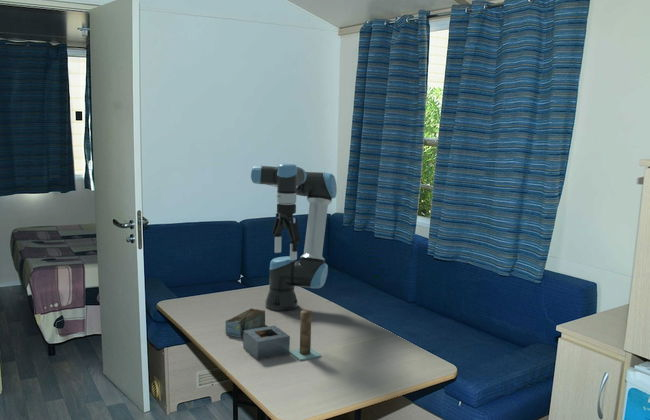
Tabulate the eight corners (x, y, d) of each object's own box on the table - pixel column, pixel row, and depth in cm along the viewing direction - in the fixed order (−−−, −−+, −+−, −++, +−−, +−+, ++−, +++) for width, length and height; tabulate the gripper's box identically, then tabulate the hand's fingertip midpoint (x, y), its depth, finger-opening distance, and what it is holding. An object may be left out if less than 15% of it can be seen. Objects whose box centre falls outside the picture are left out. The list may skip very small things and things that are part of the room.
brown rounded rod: (307, 350, 226) (308, 309, 224) (312, 353, 223) (313, 312, 220) (297, 352, 224) (298, 310, 222) (302, 355, 221) (303, 313, 218)
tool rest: (309, 348, 230) (309, 347, 229) (321, 356, 222) (321, 355, 222) (288, 352, 225) (288, 350, 225) (300, 361, 217) (300, 359, 217)
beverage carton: (224, 334, 242) (224, 319, 241) (250, 321, 259) (250, 306, 258) (240, 338, 239) (240, 322, 238) (266, 324, 256) (266, 309, 255)
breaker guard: (274, 342, 234) (274, 325, 233) (289, 354, 223) (289, 336, 222) (243, 348, 228) (243, 330, 227) (257, 360, 217) (257, 341, 216)
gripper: (264, 199, 245) (263, 250, 248) (292, 208, 223) (291, 263, 227) (280, 199, 248) (279, 249, 252) (310, 207, 227) (308, 261, 230)
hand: (285, 256), depth 239 cm, fingers open, 13 cm apart
